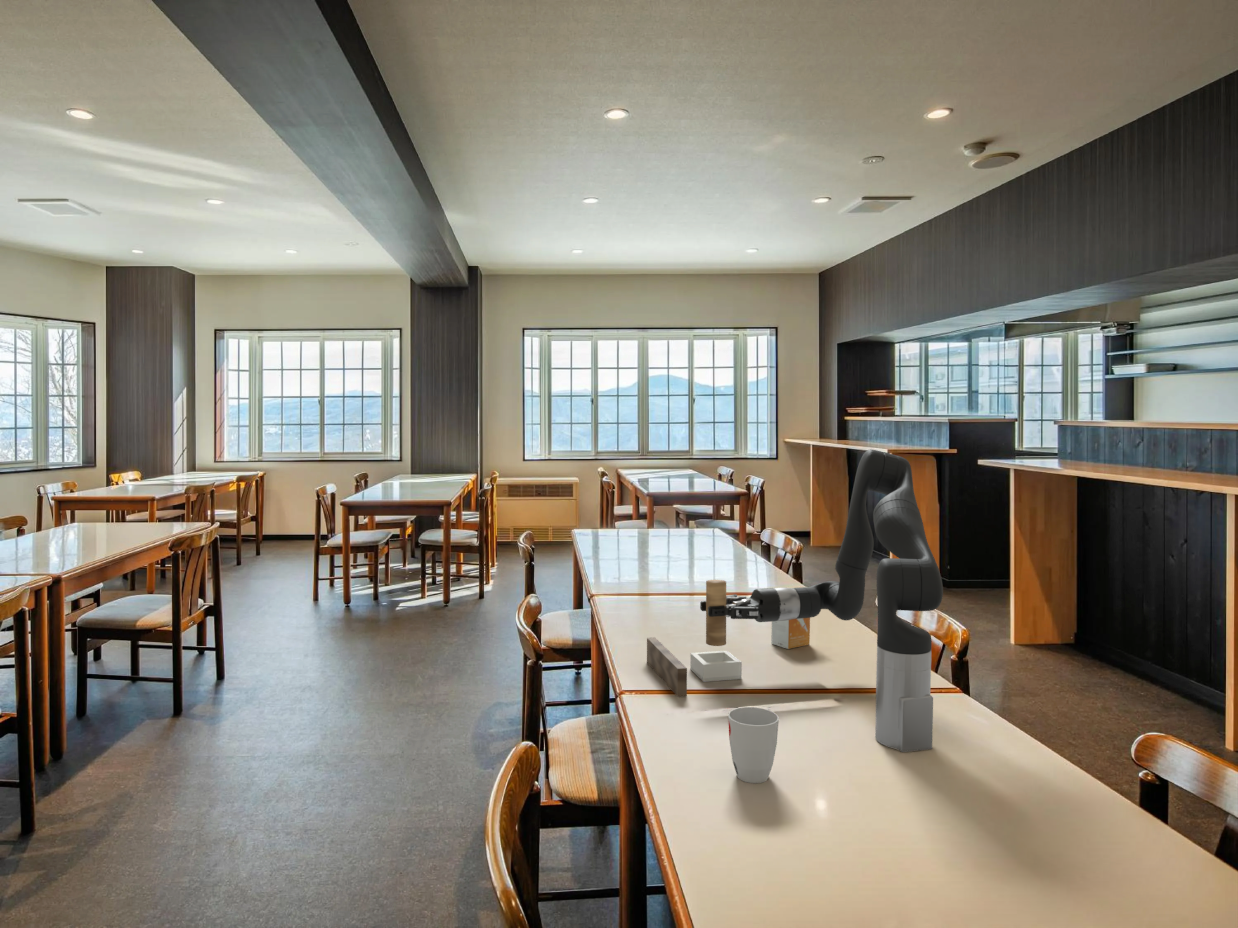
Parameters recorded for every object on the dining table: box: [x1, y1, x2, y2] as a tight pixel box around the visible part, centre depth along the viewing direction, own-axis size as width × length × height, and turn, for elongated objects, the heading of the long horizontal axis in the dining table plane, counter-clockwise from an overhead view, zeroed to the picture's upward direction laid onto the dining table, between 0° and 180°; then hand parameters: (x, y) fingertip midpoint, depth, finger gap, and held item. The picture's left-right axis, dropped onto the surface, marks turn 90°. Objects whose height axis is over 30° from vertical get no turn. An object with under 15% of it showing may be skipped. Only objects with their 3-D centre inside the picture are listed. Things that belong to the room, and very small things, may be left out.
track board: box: [646, 636, 688, 698], centre depth 173 cm, size 24×20×7 cm
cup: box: [727, 706, 780, 784], centre depth 126 cm, size 8×8×10 cm
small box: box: [771, 618, 811, 650], centre depth 202 cm, size 8×6×13 cm
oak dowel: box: [705, 579, 727, 647], centre depth 174 cm, size 4×4×14 cm
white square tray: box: [689, 650, 743, 683], centre depth 174 cm, size 9×9×4 cm
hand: (704, 608), depth 173 cm, fingers closed on oak dowel, 4 cm apart
